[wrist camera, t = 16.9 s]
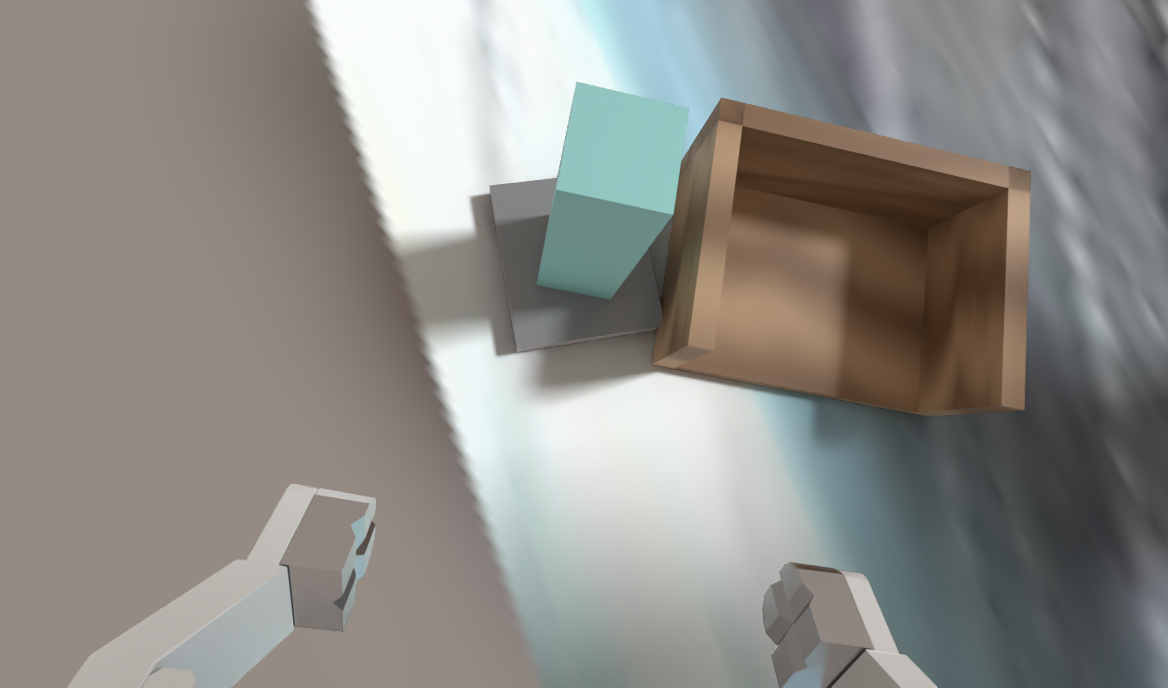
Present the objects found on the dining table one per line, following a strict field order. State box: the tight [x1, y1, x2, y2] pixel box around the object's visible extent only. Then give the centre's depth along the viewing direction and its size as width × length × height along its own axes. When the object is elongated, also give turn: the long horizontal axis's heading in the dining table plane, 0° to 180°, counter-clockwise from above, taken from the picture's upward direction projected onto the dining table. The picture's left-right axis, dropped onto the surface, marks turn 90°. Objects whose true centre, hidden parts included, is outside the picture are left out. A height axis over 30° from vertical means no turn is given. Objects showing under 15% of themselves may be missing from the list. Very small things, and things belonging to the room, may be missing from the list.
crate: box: [652, 98, 1031, 416], centre depth 31 cm, size 12×16×6 cm
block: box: [536, 82, 689, 300], centre depth 26 cm, size 4×4×12 cm
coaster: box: [490, 178, 663, 352], centre depth 32 cm, size 8×9×1 cm
